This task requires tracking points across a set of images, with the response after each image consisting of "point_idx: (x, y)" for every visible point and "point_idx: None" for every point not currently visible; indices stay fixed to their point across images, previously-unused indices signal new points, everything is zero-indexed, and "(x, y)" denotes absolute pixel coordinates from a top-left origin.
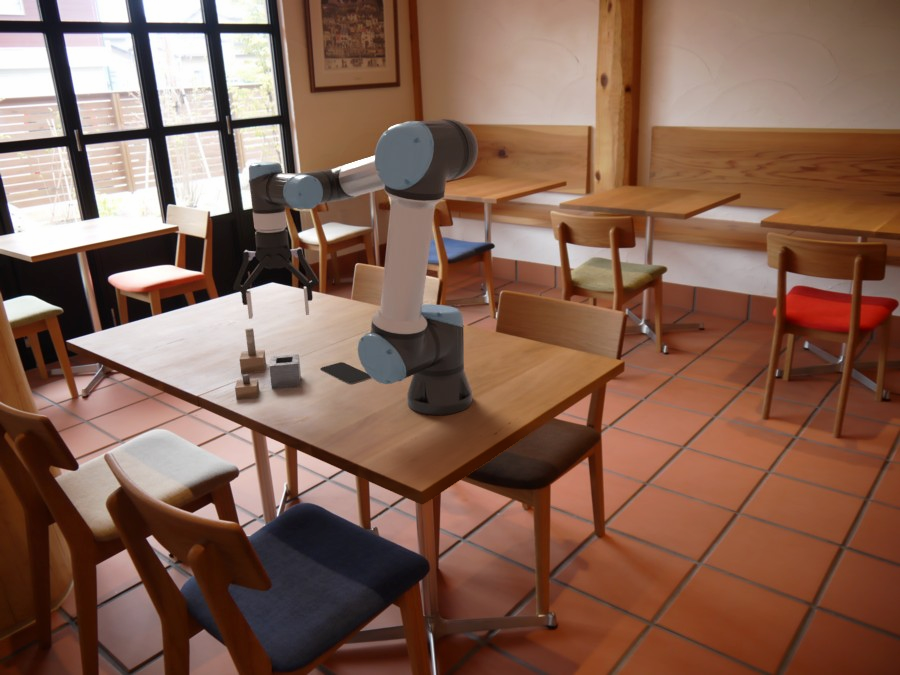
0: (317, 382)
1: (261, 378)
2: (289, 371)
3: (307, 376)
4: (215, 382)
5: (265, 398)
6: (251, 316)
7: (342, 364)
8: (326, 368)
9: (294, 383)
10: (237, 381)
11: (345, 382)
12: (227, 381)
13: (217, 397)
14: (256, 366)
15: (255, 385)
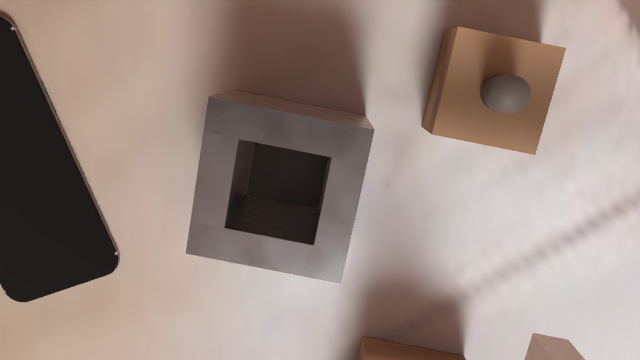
0: (152, 105)
1: (389, 262)
2: (268, 104)
3: (187, 200)
4: (588, 299)
5: (412, 5)
6: (547, 347)
7: (13, 270)
8: (90, 251)
9: (258, 96)
10: (536, 135)
11: (25, 47)
12: (537, 289)
13: (615, 113)
14: (398, 358)
15: (461, 35)
